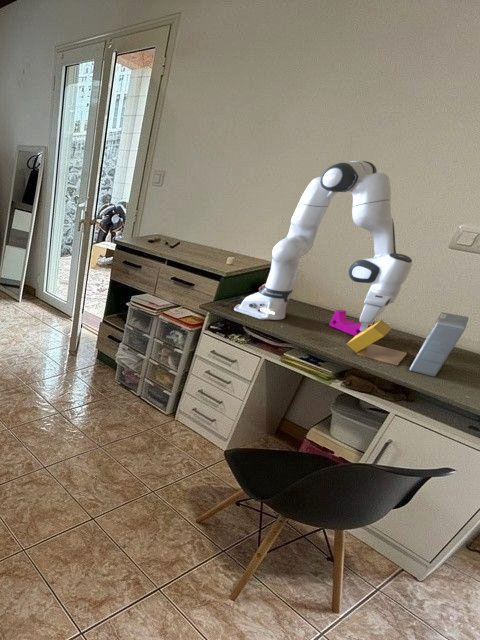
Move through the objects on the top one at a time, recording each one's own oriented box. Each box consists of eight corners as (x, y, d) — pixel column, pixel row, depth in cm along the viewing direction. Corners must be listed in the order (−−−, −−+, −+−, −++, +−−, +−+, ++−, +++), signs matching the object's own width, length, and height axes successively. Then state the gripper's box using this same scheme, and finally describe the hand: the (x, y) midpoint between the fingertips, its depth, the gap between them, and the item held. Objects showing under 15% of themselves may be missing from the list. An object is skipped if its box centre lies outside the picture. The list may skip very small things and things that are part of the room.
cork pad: (356, 354, 175) (356, 354, 175) (367, 343, 184) (367, 342, 184) (397, 365, 167) (397, 365, 166) (406, 353, 175) (407, 353, 175)
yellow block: (346, 344, 178) (373, 327, 170) (354, 336, 185) (381, 319, 176) (356, 352, 177) (384, 336, 168) (364, 344, 183) (391, 328, 174)
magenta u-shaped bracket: (371, 336, 190) (379, 321, 186) (360, 338, 188) (367, 322, 185) (339, 323, 202) (346, 309, 198) (328, 325, 201) (335, 310, 197)
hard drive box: (414, 357, 172) (441, 311, 162) (440, 363, 167) (470, 317, 157) (408, 370, 163) (436, 323, 153) (435, 377, 158) (466, 329, 148)
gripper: (378, 288, 177) (363, 319, 184) (364, 299, 166) (348, 331, 173) (398, 291, 172) (382, 323, 179) (384, 303, 162) (368, 336, 169)
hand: (365, 327), depth 176 cm, fingers open, 8 cm apart
